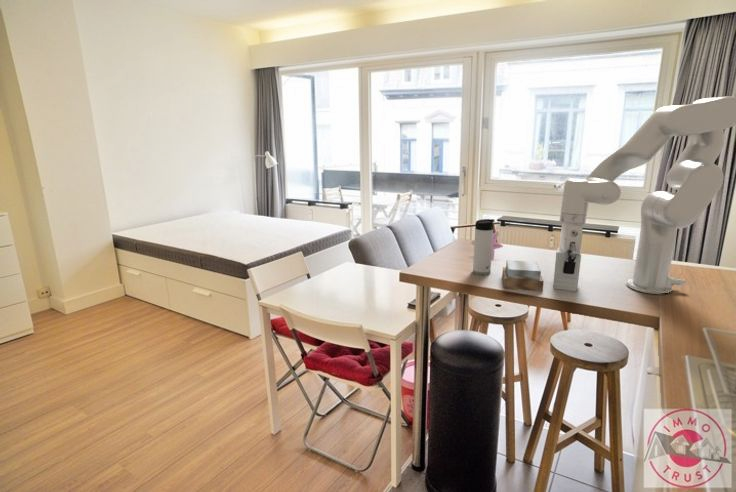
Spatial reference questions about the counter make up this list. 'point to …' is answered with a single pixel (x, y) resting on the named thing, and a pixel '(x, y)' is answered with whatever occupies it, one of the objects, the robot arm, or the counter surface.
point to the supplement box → (563, 279)
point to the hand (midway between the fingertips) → (565, 268)
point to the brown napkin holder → (522, 276)
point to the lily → (493, 243)
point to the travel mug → (483, 246)
